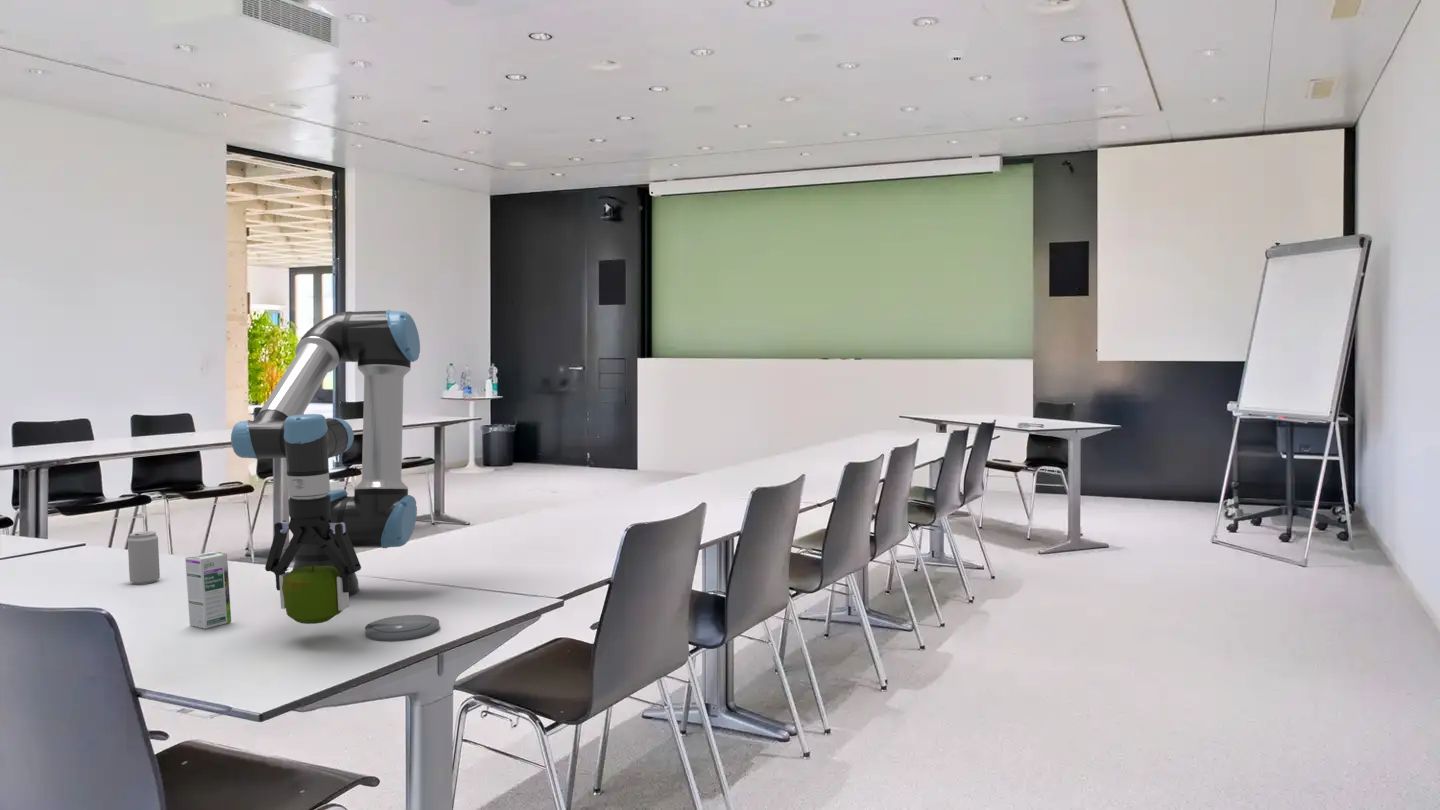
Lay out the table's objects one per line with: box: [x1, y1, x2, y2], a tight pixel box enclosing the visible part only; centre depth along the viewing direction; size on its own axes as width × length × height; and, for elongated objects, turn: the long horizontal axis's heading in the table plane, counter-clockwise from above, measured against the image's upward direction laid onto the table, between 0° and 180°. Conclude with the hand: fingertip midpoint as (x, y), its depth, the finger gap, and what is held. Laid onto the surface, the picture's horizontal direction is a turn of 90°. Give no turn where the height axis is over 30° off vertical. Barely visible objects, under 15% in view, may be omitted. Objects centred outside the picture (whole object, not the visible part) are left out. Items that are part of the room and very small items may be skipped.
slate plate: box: [364, 614, 440, 642], centre depth 204 cm, size 14×14×2 cm
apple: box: [282, 564, 344, 625], centre depth 199 cm, size 11×11×11 cm
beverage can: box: [127, 530, 161, 586], centre depth 249 cm, size 6×6×12 cm
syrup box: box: [184, 550, 232, 630], centre depth 211 cm, size 6×6×14 cm
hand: (315, 607), depth 199 cm, fingers closed on apple, 11 cm apart
